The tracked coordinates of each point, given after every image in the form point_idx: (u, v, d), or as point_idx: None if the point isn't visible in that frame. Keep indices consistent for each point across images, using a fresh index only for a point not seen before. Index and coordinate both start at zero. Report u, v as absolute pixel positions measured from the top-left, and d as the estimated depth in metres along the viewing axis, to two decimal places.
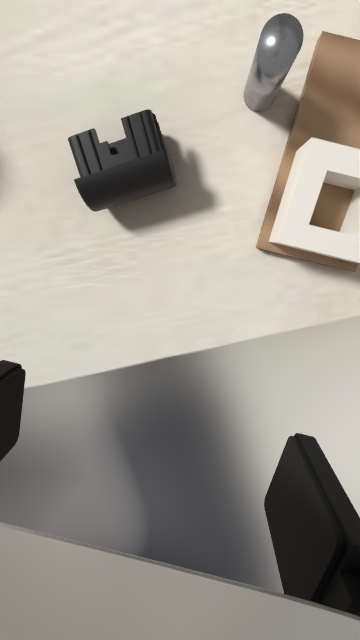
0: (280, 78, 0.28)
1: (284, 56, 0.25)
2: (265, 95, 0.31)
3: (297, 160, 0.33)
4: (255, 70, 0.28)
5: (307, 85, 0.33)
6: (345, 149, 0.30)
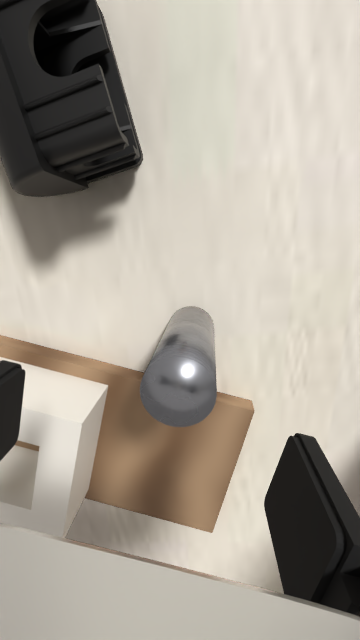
0: None
1: (151, 398, 0.14)
2: None
3: (79, 393, 0.22)
4: (169, 338, 0.16)
5: None
6: (68, 468, 0.20)
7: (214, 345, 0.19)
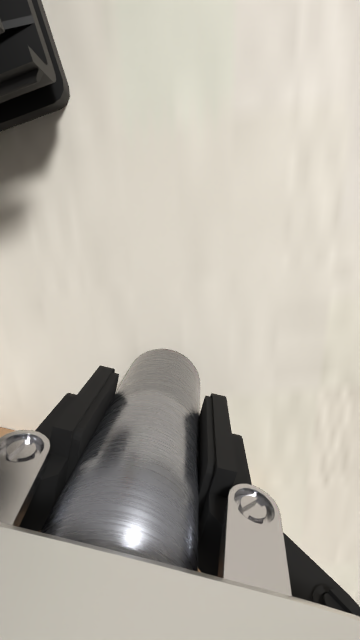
0: None
1: None
2: None
3: None
4: (95, 459, 0.07)
5: None
6: None
7: (198, 442, 0.10)
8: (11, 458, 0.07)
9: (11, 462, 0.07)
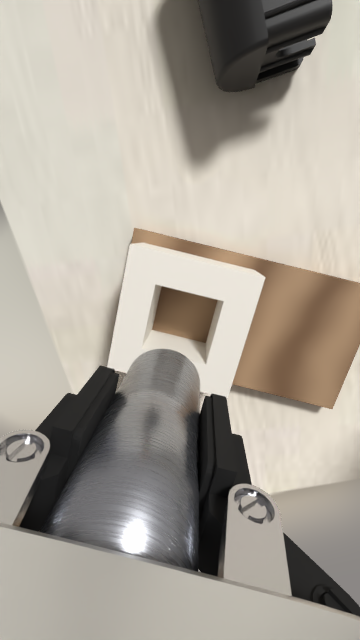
0: None
1: None
2: None
3: (241, 268, 0.25)
4: (94, 459, 0.07)
5: (327, 276, 0.27)
6: (246, 321, 0.23)
7: (198, 442, 0.10)
8: (11, 458, 0.07)
9: (11, 462, 0.07)
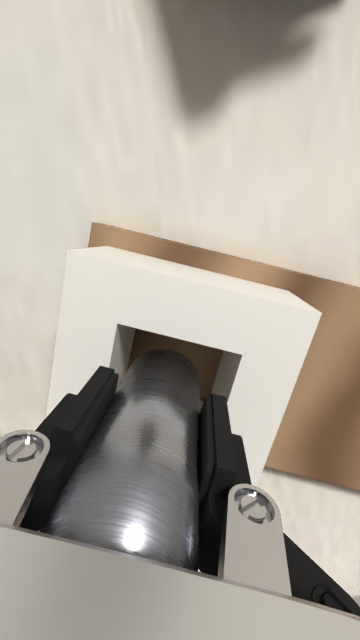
0: None
1: None
2: None
3: (270, 290, 0.15)
4: (94, 459, 0.07)
5: None
6: (283, 390, 0.13)
7: (198, 442, 0.10)
8: (11, 458, 0.07)
9: (11, 462, 0.07)
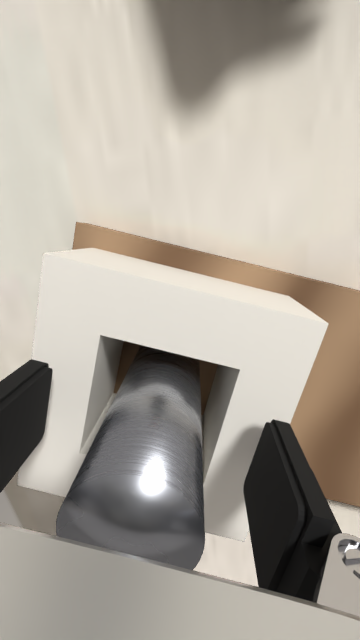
0: None
1: None
2: None
3: (269, 296, 0.13)
4: (123, 405, 0.10)
5: None
6: (286, 408, 0.11)
7: (200, 401, 0.12)
8: None
9: None
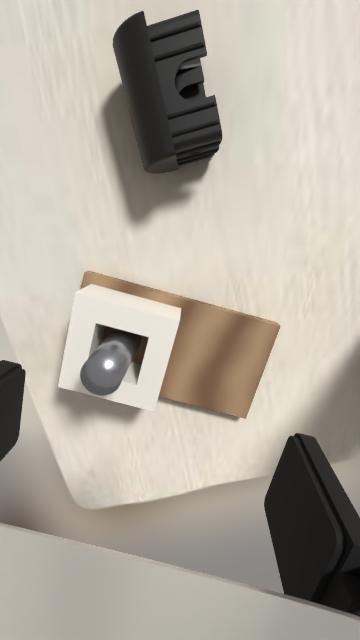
0: None
1: (86, 379, 0.25)
2: None
3: (167, 309, 0.32)
4: (101, 346, 0.28)
5: (238, 315, 0.34)
6: (167, 352, 0.30)
7: (133, 350, 0.30)
8: None
9: None
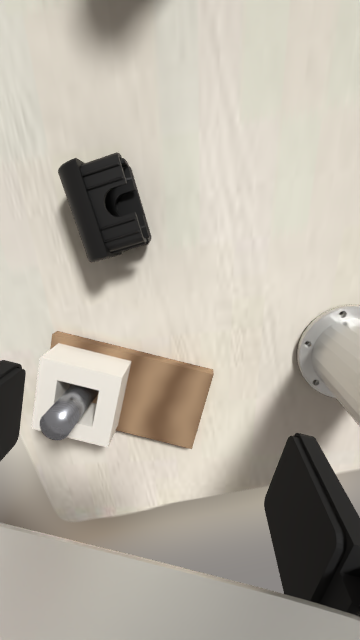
0: None
1: (44, 428, 0.33)
2: None
3: (117, 364, 0.39)
4: (59, 399, 0.36)
5: (178, 366, 0.41)
6: (114, 402, 0.37)
7: (88, 398, 0.38)
8: None
9: None
